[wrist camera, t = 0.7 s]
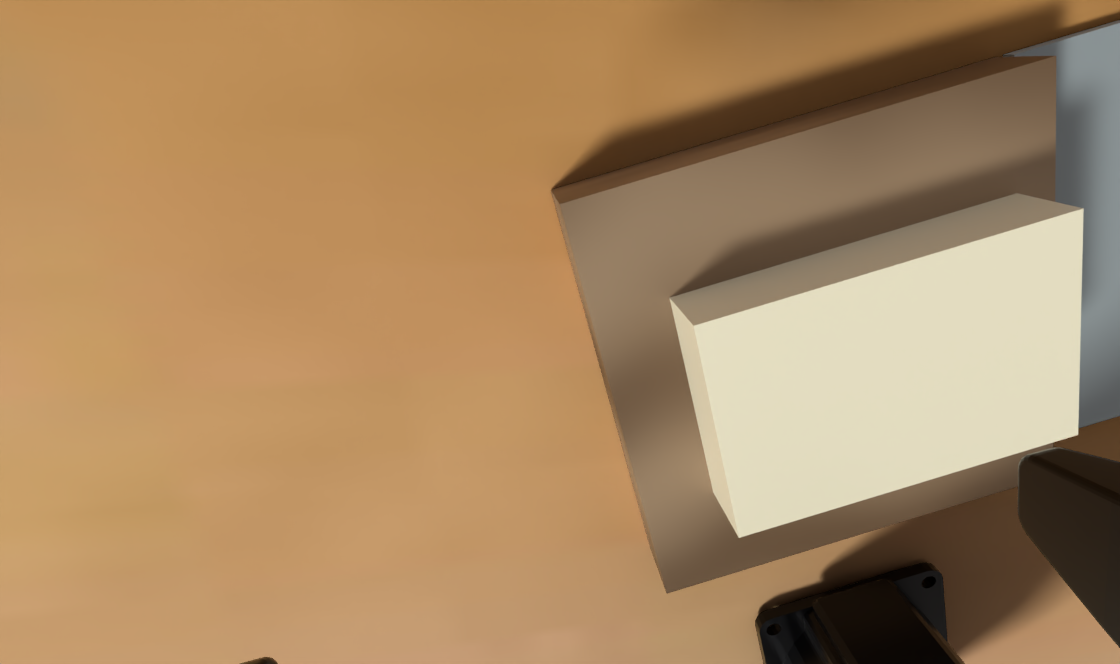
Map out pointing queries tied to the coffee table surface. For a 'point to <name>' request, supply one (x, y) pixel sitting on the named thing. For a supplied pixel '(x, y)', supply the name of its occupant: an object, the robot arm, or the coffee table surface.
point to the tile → (887, 359)
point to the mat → (1092, 198)
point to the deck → (775, 238)
